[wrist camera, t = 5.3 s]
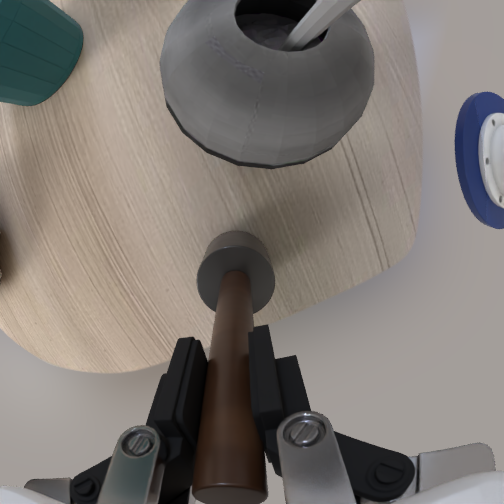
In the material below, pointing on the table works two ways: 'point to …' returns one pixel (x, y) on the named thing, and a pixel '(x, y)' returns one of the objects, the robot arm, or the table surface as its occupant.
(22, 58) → the jar
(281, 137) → the beverage cup
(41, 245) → the table surface
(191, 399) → the robot arm
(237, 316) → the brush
